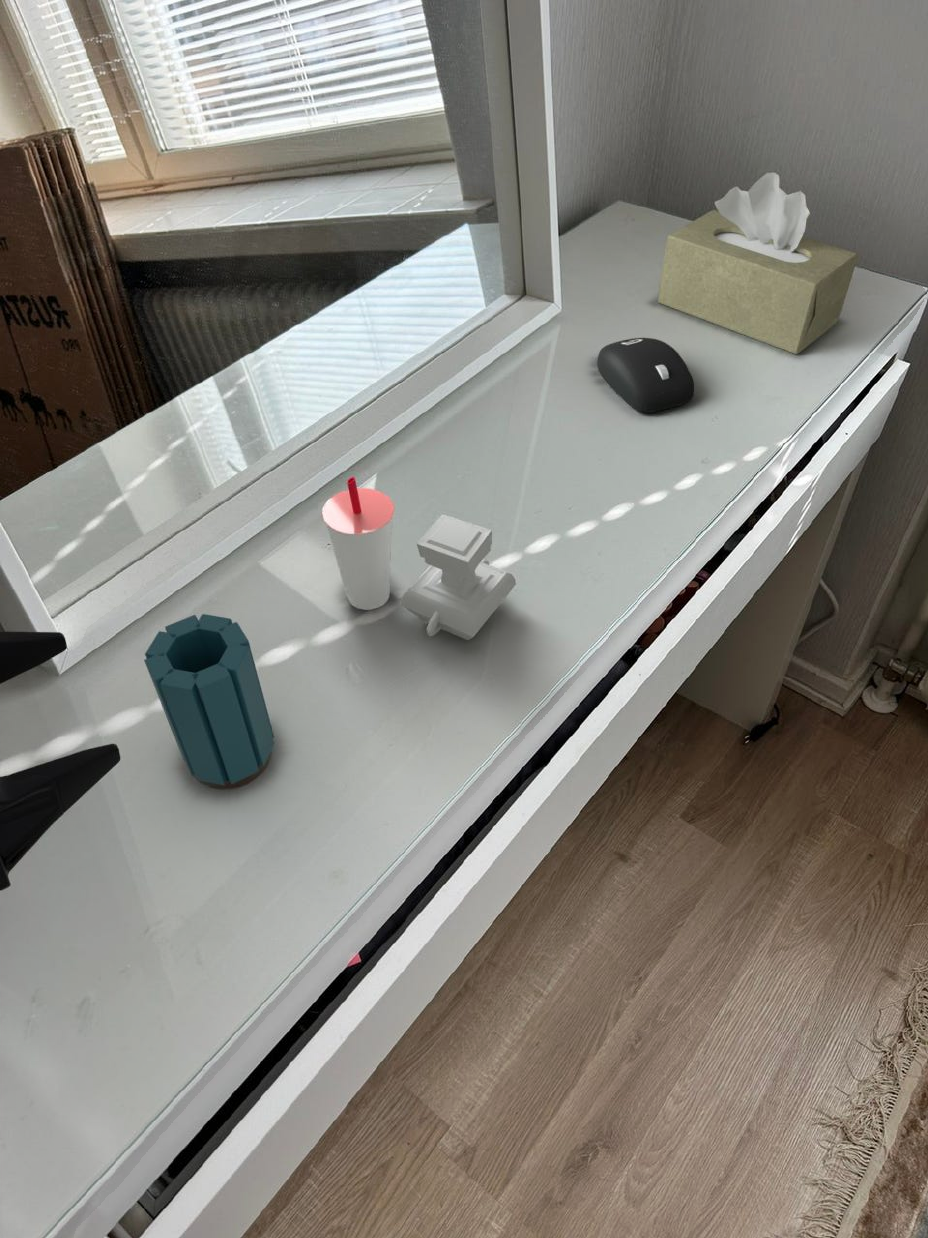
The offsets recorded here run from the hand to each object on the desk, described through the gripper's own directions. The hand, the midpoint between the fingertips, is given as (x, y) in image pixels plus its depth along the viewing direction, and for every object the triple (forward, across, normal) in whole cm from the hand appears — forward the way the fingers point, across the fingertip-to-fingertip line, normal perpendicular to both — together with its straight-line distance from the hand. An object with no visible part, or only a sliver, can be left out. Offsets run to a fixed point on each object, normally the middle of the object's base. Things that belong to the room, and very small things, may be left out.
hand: (90, 693), depth 49 cm
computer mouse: (+63, +24, +5) cm, 68 cm away
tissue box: (+83, +28, +2) cm, 88 cm away
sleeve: (+8, +3, +12) cm, 15 cm away
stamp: (+29, +6, +10) cm, 31 cm away
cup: (+24, +12, +11) cm, 29 cm away
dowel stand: (+9, +3, +13) cm, 16 cm away
